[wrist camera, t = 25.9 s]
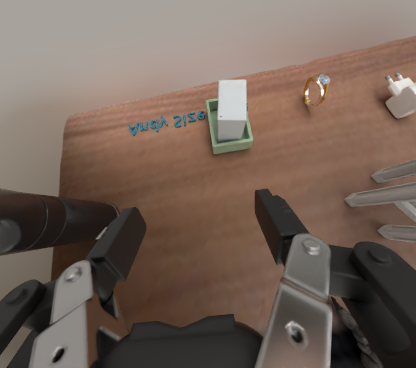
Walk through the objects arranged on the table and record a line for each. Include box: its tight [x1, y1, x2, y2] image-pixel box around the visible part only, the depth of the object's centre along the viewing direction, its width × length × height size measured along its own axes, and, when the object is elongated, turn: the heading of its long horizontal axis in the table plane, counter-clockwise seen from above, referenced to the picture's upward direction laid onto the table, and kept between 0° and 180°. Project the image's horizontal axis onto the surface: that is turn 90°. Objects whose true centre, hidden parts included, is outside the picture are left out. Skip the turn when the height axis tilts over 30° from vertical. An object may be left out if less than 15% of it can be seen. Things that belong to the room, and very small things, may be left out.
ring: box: [304, 73, 330, 107], centre depth 39 cm, size 7×3×8 cm, turn 9°
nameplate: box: [128, 103, 248, 136], centre depth 45 cm, size 37×1×5 cm
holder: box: [206, 98, 253, 154], centre depth 41 cm, size 10×14×4 cm
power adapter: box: [385, 72, 416, 118], centre depth 38 cm, size 11×5×6 cm, turn 18°
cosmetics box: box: [217, 80, 247, 144], centre depth 37 cm, size 10×6×10 cm, turn 177°
